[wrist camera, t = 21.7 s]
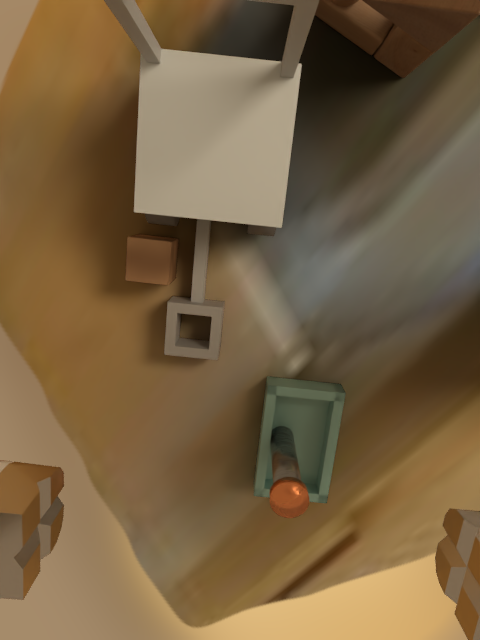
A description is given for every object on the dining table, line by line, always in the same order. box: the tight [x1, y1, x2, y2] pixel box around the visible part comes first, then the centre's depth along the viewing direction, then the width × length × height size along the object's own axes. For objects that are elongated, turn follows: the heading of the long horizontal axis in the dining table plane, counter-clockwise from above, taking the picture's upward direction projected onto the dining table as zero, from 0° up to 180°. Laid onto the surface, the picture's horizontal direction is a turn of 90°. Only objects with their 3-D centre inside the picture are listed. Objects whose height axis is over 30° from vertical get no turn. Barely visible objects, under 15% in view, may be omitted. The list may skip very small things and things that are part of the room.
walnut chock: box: [125, 234, 179, 285], centre depth 43 cm, size 4×4×4 cm
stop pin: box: [269, 426, 309, 518], centre depth 44 cm, size 3×3×11 cm
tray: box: [254, 376, 346, 503], centre depth 49 cm, size 8×13×2 cm, turn 174°
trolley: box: [104, 0, 319, 360], centre depth 34 cm, size 12×27×21 cm, turn 174°
